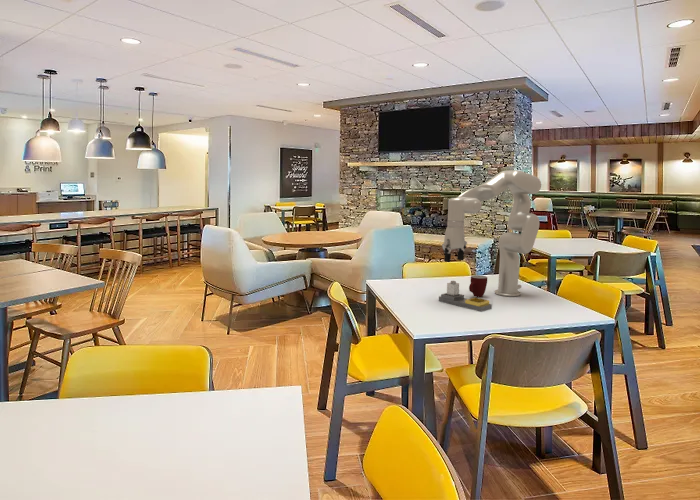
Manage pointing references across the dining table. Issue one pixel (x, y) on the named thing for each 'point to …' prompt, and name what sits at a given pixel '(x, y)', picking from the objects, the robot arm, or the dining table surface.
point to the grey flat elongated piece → (466, 302)
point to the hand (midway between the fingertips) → (453, 260)
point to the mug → (478, 285)
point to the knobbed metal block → (453, 289)
